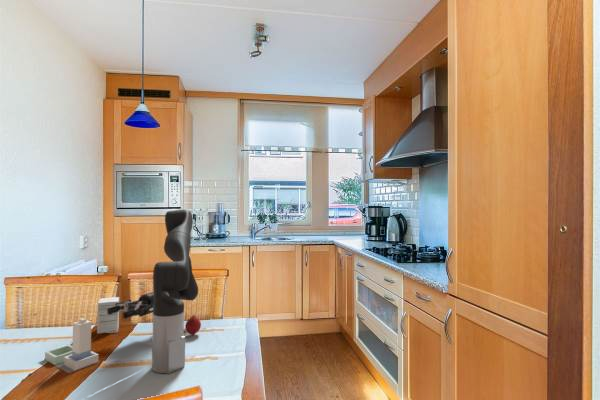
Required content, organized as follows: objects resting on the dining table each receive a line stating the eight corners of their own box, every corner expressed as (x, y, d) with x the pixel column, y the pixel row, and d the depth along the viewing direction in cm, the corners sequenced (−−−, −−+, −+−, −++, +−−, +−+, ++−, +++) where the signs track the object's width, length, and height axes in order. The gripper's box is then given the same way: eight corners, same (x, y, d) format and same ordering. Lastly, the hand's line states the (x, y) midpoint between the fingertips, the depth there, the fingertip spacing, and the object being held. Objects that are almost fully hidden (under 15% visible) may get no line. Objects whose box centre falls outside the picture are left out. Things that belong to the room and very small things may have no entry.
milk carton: (90, 362, 107) (91, 318, 107) (78, 366, 103) (79, 321, 104) (83, 359, 108) (84, 316, 108) (71, 364, 105) (73, 319, 105)
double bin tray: (99, 363, 107) (99, 354, 107) (68, 375, 99) (68, 365, 99) (73, 351, 116) (74, 342, 116) (44, 361, 108) (44, 351, 108)
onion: (195, 338, 128) (196, 317, 128) (182, 337, 129) (182, 316, 130) (203, 333, 134) (203, 313, 134) (190, 331, 135) (190, 312, 135)
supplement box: (98, 329, 137) (99, 298, 137) (119, 326, 140) (119, 296, 140) (96, 335, 130) (97, 303, 130) (117, 332, 133) (118, 301, 134)
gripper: (142, 289, 134) (103, 299, 119) (167, 294, 128) (129, 306, 113) (142, 308, 134) (102, 320, 119) (167, 314, 128) (128, 328, 113)
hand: (115, 313), depth 116 cm, fingers open, 8 cm apart
